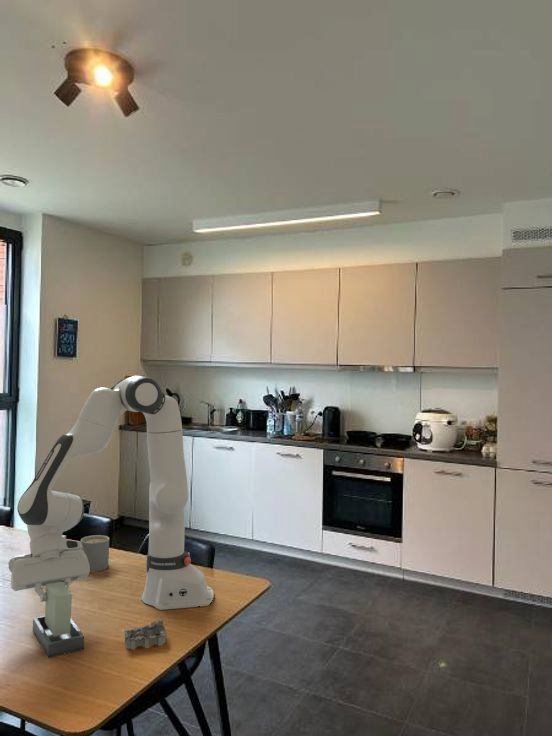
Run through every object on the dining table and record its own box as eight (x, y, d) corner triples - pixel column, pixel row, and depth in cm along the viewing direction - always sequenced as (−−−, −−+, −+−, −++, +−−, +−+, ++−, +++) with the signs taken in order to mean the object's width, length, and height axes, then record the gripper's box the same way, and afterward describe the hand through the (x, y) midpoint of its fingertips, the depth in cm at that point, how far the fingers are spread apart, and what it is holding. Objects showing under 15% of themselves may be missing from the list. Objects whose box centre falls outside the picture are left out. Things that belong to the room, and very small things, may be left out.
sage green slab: (60, 618, 151) (61, 581, 151) (70, 633, 143) (71, 594, 143) (44, 621, 149) (46, 584, 149) (53, 636, 141) (55, 597, 141)
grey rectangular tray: (65, 622, 156) (65, 611, 156) (83, 649, 141) (84, 636, 141) (32, 630, 151) (33, 617, 151) (48, 658, 136) (48, 644, 136)
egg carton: (164, 634, 151) (164, 619, 151) (167, 647, 144) (167, 631, 144) (123, 638, 148) (124, 623, 148) (124, 651, 141) (125, 635, 141)
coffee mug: (104, 560, 208) (105, 533, 208) (111, 568, 199) (112, 541, 200) (67, 566, 201) (68, 538, 201) (72, 574, 192) (73, 545, 193)
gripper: (9, 551, 149) (14, 600, 141) (86, 540, 161) (95, 585, 153) (5, 563, 153) (10, 611, 145) (81, 552, 165) (89, 596, 156)
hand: (55, 598), depth 149 cm, fingers closed on sage green slab, 4 cm apart
